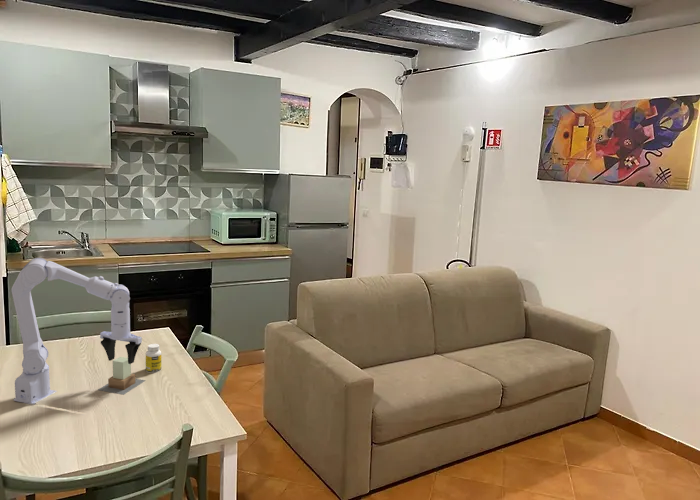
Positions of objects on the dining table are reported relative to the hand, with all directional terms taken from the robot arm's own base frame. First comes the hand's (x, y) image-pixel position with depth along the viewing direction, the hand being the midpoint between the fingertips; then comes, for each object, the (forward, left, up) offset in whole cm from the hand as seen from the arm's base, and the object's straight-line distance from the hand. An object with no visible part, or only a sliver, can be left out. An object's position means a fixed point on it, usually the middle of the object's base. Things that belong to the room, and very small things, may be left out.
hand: (121, 361), depth 183 cm
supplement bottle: (+15, -2, -9) cm, 18 cm away
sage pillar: (0, 0, -6) cm, 6 cm away
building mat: (0, 0, -9) cm, 9 cm away
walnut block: (0, 0, -9) cm, 9 cm away
